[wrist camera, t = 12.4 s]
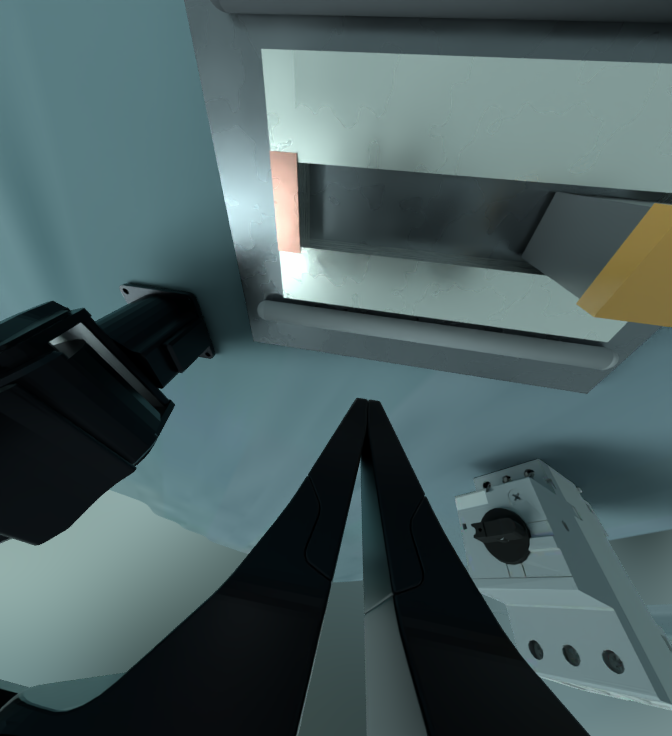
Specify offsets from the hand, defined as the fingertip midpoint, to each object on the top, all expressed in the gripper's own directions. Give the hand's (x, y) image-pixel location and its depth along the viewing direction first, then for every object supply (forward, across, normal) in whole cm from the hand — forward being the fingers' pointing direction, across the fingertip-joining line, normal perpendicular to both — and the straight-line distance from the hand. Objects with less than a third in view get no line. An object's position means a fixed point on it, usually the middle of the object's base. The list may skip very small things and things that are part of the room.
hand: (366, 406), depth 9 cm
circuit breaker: (+10, -18, +20) cm, 29 cm away
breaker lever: (+9, -9, -5) cm, 13 cm away
